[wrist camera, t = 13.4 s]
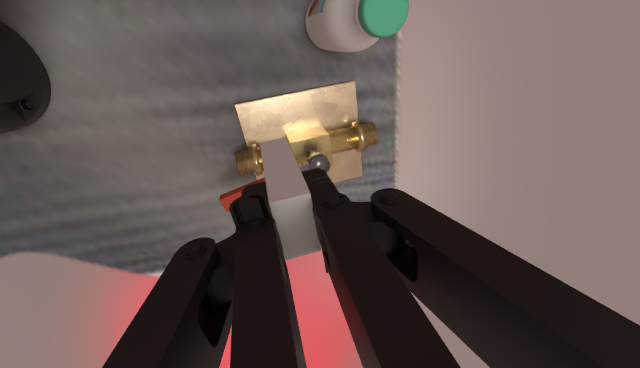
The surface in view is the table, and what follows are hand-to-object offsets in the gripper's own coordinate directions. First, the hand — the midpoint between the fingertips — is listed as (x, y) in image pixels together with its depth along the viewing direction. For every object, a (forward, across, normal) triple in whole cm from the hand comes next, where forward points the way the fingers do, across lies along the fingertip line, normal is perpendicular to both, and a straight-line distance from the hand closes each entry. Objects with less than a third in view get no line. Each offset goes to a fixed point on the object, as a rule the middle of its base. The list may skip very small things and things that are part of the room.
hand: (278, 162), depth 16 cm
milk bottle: (+33, +13, +7) cm, 36 cm away
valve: (+32, +6, -11) cm, 35 cm away
